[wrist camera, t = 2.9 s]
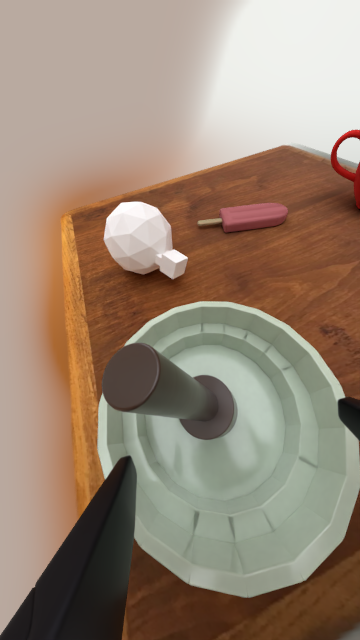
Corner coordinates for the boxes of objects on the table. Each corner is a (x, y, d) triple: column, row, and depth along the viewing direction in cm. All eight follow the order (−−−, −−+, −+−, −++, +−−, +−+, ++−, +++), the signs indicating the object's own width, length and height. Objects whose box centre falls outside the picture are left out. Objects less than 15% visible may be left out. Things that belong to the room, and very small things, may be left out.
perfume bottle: (95, 262, 27) (151, 308, 23) (82, 189, 20) (160, 237, 16) (140, 248, 32) (192, 283, 28) (142, 186, 25) (211, 222, 21)
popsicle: (196, 211, 32) (281, 199, 31) (196, 219, 33) (278, 209, 33) (199, 227, 29) (293, 215, 28) (199, 236, 31) (289, 225, 30)
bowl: (349, 496, 13) (449, 539, 8) (137, 558, 12) (90, 647, 7) (254, 320, 21) (270, 284, 16) (125, 352, 20) (100, 325, 15)
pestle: (249, 412, 14) (228, 378, 5) (209, 451, 14) (95, 504, 4) (212, 371, 17) (149, 295, 7) (177, 403, 17) (62, 369, 7)
